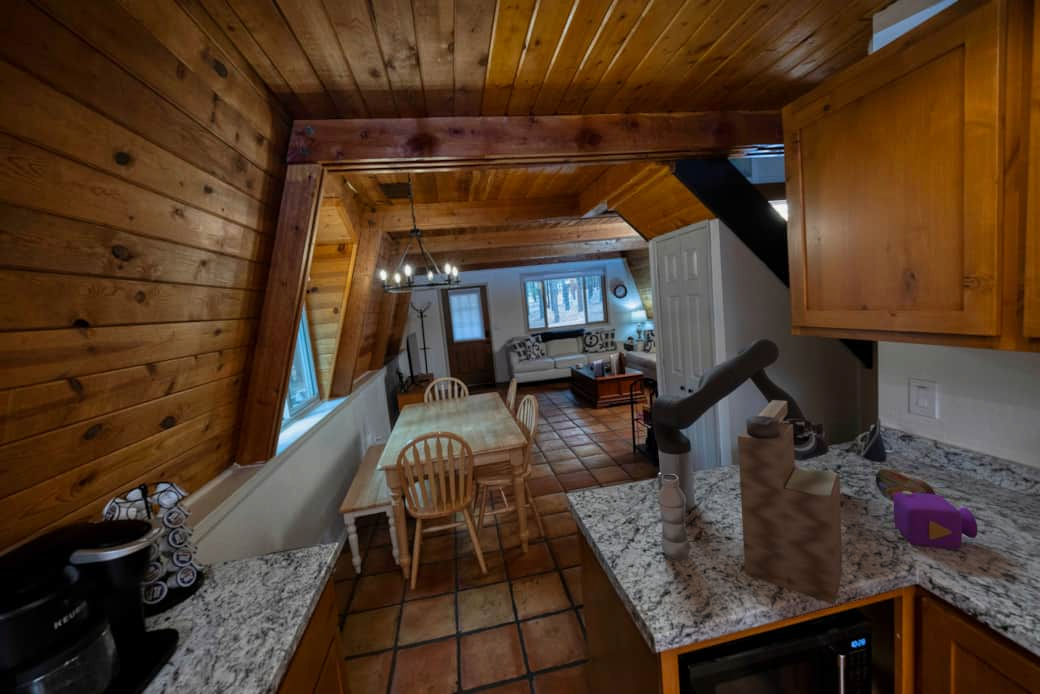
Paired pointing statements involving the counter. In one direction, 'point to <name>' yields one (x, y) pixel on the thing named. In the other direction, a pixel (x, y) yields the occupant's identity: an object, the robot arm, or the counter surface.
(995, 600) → the counter surface
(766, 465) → the step stand
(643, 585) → the counter surface
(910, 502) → the toy camera
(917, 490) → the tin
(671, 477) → the plastic bottle
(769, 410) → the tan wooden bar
